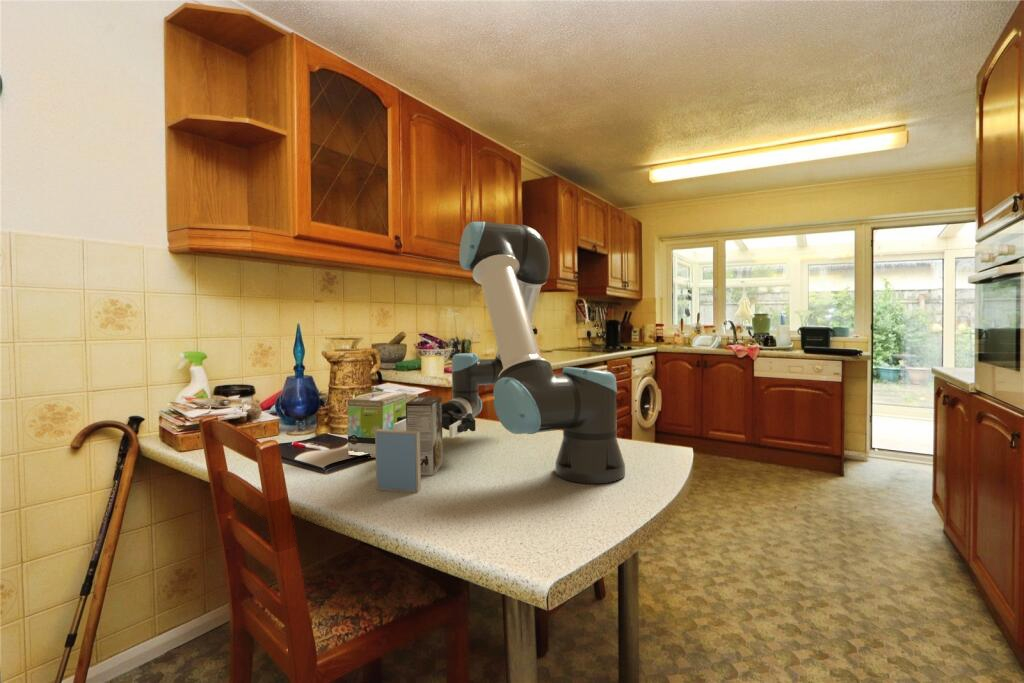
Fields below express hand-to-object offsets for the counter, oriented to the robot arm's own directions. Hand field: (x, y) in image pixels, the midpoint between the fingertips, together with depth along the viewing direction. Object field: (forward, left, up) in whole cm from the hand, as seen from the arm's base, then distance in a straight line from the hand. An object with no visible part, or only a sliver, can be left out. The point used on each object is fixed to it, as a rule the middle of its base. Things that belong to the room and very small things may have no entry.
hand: (422, 431), depth 111 cm
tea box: (+19, -14, -9) cm, 25 cm away
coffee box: (0, 0, -9) cm, 9 cm away
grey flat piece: (0, +14, -9) cm, 16 cm away
